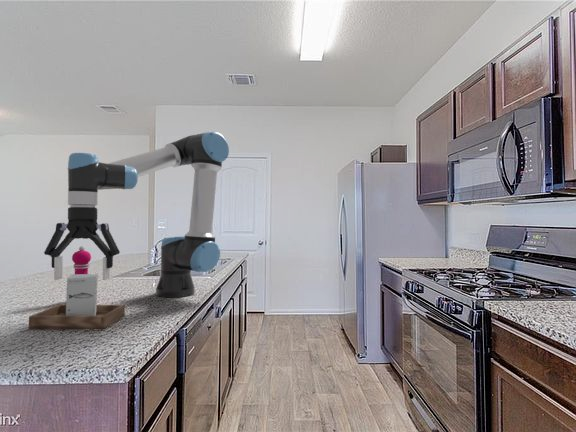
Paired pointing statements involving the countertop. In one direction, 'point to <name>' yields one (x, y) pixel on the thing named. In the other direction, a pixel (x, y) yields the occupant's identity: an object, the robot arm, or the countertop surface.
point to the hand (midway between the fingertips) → (82, 279)
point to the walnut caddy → (76, 318)
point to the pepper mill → (81, 261)
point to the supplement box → (81, 295)
